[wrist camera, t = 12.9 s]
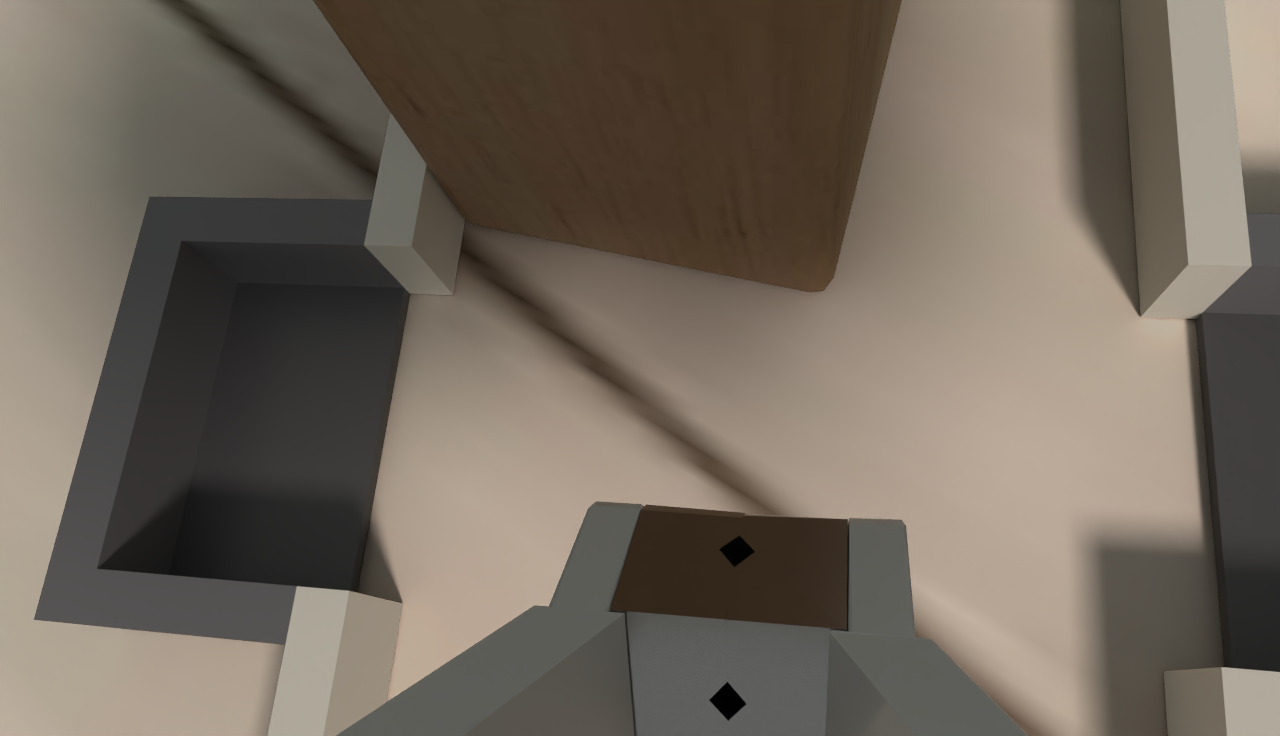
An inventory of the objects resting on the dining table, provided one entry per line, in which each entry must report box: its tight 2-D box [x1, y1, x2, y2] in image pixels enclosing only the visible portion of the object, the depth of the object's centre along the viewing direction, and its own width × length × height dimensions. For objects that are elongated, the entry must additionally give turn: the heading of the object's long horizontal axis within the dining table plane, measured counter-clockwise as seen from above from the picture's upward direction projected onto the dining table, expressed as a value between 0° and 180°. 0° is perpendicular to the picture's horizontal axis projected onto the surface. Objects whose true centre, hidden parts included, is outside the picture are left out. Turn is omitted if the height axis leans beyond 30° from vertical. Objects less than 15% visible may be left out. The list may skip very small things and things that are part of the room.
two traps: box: [34, 197, 1280, 672], centre depth 22 cm, size 10×31×3 cm, turn 84°
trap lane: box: [267, 0, 1280, 736], centre depth 21 cm, size 37×19×5 cm, turn 174°
